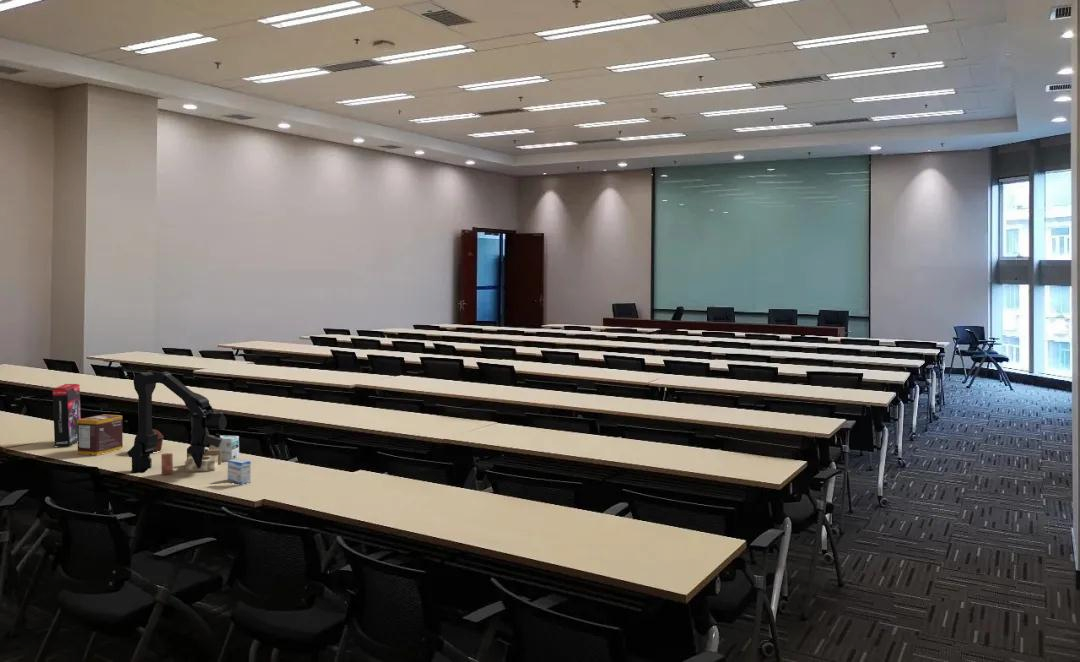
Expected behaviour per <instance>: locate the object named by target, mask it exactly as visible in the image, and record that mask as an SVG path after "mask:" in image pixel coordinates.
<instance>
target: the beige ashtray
mask: <svg viewBox="0 0 1080 662" xmlns="http://www.w3.org/2000/svg"><path fill="white" fill-rule="evenodd" d="M217 467H218V455H204V456H203V460H202V464H201V468H197V466H196V464H195V462H194V459H193V457H192V456H189V457H188V459H187V458H186V460H185V461H184V472H185V473H187V472H211V471H215V470H216V469H217Z"/></svg>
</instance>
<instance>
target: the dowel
mask: <svg viewBox="0 0 1080 662" xmlns="http://www.w3.org/2000/svg"><path fill="white" fill-rule="evenodd" d="M173 458H174V457H173V453H171V452H169V453H168V452H165V453H161V476H171V475H173V474H174V468H173V467H174V460H173Z"/></svg>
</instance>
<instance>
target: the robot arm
mask: <svg viewBox="0 0 1080 662" xmlns="http://www.w3.org/2000/svg"><path fill="white" fill-rule="evenodd" d="M157 383H161V384H162V385H164V386H165V387H166V388H168V389H169V391H171V392H172V393H173V394H175V395H176V396H177V397H178V398H180V399H181V400H182V401H183V403H184V405H185V407H186V408H187V409H188V410H189V411H190V412H189V414H187V415H186V418H188V419H191V431H190V436H191V442H190V445H189V446H188V447H187V448H186V455H187V454H191V455H192V457H193V459H194V462H195V464H196V466H197V468H201V464H202V460H203V456H204V454H205V453H206V452H207V451H208V450H209V447H211V445H213V446H215V447H218V448H219V446H220V445H221V442H222V438H221V437H220V436H221V434H219V433H216V434H214V435H212V434H210V433H209V432H210V431H209V430H219V431H222V430H225V429H226V428H227V423H228V420H227V417H226V416H225V415H224V412H221V411H220V412H216V411H215V409H214V408H213V406H212V405H211V404H210V400H209V398H208V397H205V396H204V395H202V394H200V393H198V392H195V391H192V390H191V389H190V388H189V387H187V386H186V385H185V384H183V382H181V381H180V380H178V378H176V377H175V376H174V375H172V373H171V372H169V371H162V372H159V373H153V372H151V371H149V372H148V371H147V372H142V373H138V374H135V376H134V377H133V388H134V390H135V392H136V394H137V397H138V398H137V401H138V402H137V403H138V407H137V408H138V432H136V435H135V437H134V440H133V446H132V447H131V448H130V449H129V450H128V451H127V455H128V458H131V470H130V473H136V472H135V471H146V472H147V471H148V469H152V467H153V466H152V465H153V460H152V459H153V458H152V457H151V454H154V453H153V451H154V449H155V448H156V446H157V444H158V434H154V432H153V430H152V429H153V393H154V391H155V389H156V387H157ZM206 447H208V448H207V449H206Z"/></svg>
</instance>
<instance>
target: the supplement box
mask: <svg viewBox="0 0 1080 662" xmlns="http://www.w3.org/2000/svg"><path fill="white" fill-rule="evenodd" d="M77 434H78V442H77V454H78V453H79V454H78V455H82V454H93V455H92V456H94V455H98V454H102V453H106V452H110V451H114V450H118V449H121V448H123V447H124V446H123V434H124V433H123V415H119V414H104V413H103V414H99V415H93V416H89V417H83V418H82V417H81V419H78V420H77ZM123 449H124V448H123ZM118 451H119V450H118ZM114 452H115V451H114ZM110 453H111V452H110ZM106 454H107V453H106ZM102 455H103V454H102ZM98 456H99V455H98Z"/></svg>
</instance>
